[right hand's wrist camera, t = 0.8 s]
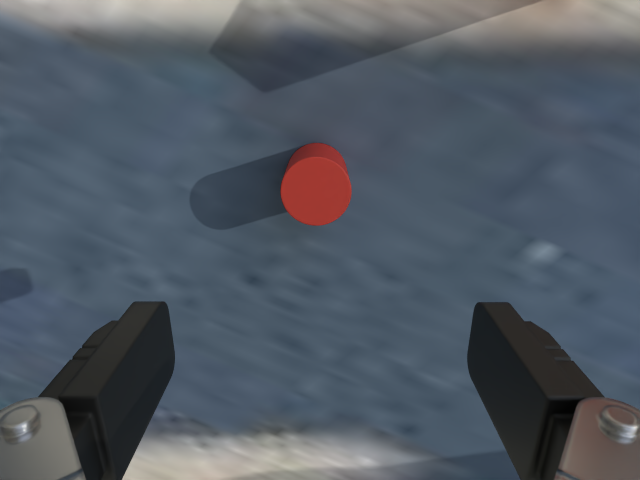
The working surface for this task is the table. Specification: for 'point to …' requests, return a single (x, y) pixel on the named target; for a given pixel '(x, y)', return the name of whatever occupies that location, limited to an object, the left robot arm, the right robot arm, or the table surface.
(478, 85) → the table surface
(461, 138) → the table surface
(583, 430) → the right robot arm
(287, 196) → the can
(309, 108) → the table surface
